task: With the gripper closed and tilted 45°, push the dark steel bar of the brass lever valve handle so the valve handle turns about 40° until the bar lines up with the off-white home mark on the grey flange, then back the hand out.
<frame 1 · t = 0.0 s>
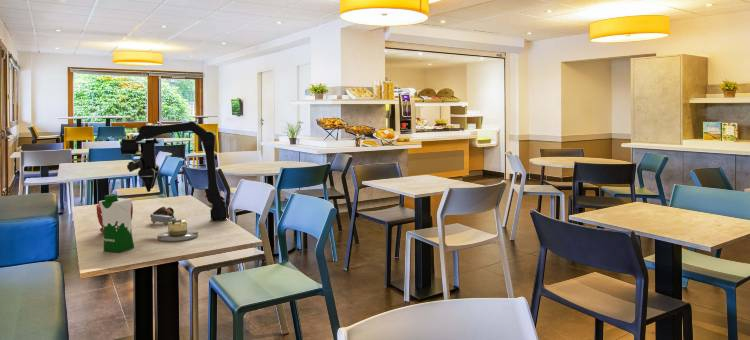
hand: (150, 190, 230), 15 cm above the table, tool pointing down, fingers open, 9 cm apart
spindle flange: (178, 237, 208), on the table
plant pot: (116, 233, 216), on the table
lever valve handle: (168, 224, 209), point 5 cm above the table, hinge at 0.0°
milk carton: (119, 249, 190), on the table
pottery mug: (165, 223, 233), on the table
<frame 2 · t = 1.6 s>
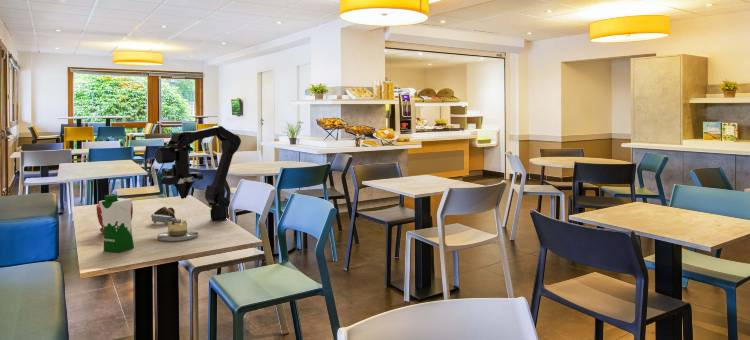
hand: (183, 198, 225), 12 cm above the table, tool pointing down, fingers closed
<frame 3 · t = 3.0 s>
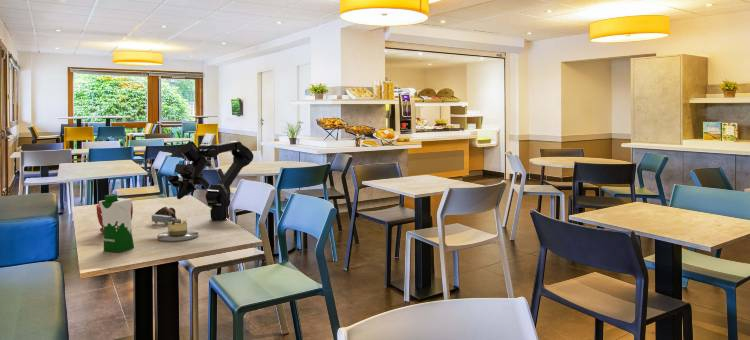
hand: (178, 198, 216), 13 cm above the table, tool tilted 45°, fingers closed
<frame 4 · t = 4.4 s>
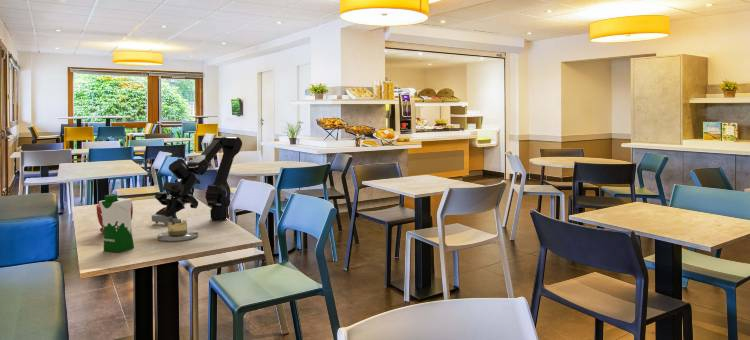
hand: (166, 217, 211), 7 cm above the table, tool tilted 45°, fingers closed, pressing on lever valve handle
lever valve handle: (168, 224, 209), point 5 cm above the table, hinge at 0.0°, touching gripper
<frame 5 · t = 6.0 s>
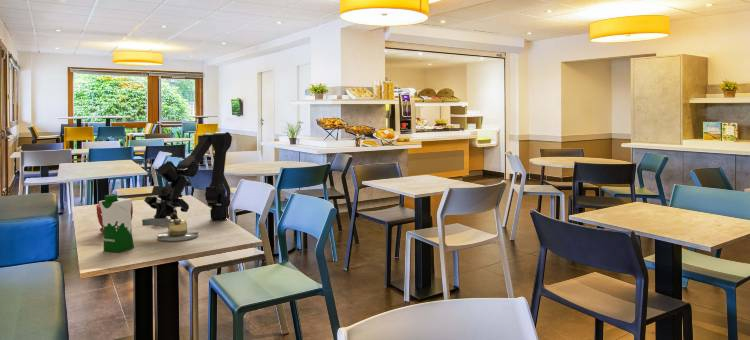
hand: (156, 222, 206), 6 cm above the table, tool tilted 45°, fingers closed
lever valve handle: (165, 226, 206), point 5 cm above the table, hinge at 38.4°, touching gripper
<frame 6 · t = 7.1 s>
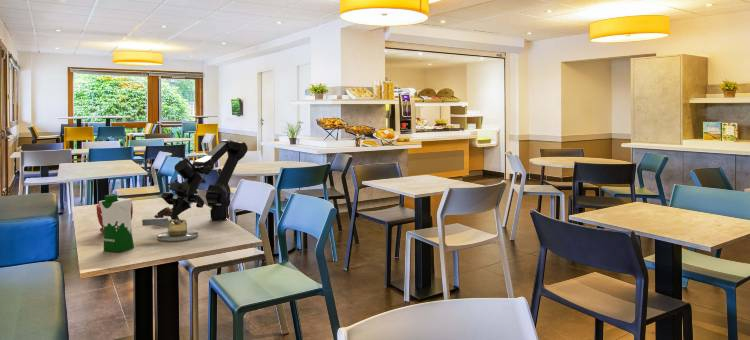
hand: (172, 216, 214), 7 cm above the table, tool tilted 45°, fingers closed
lever valve handle: (165, 226, 206), point 5 cm above the table, hinge at 38.4°
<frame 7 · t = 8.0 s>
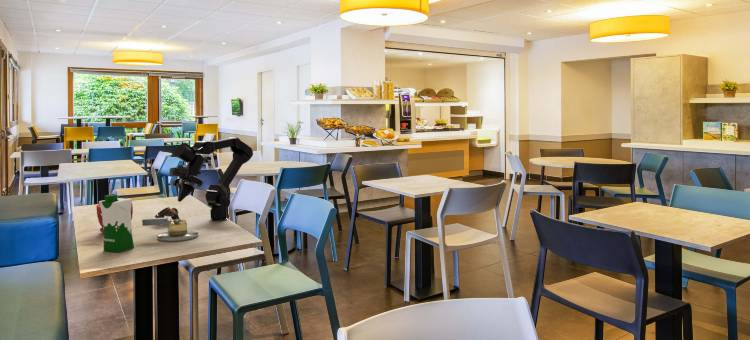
hand: (179, 201, 219), 12 cm above the table, tool tilted 35°, fingers closed
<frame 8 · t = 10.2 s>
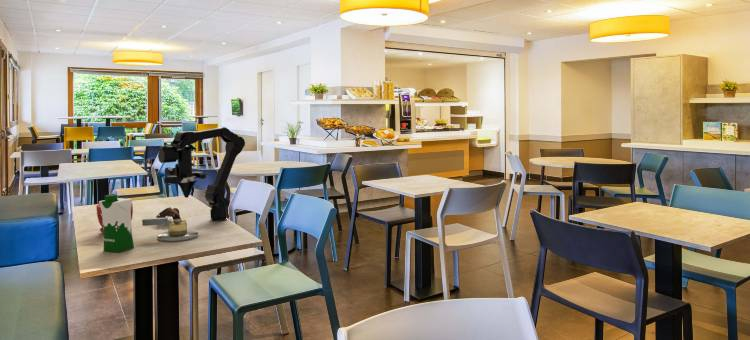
hand: (186, 197, 227), 12 cm above the table, tool pointing down, fingers closed
at the end: lever valve handle at +38° (first picture: +0°) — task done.
